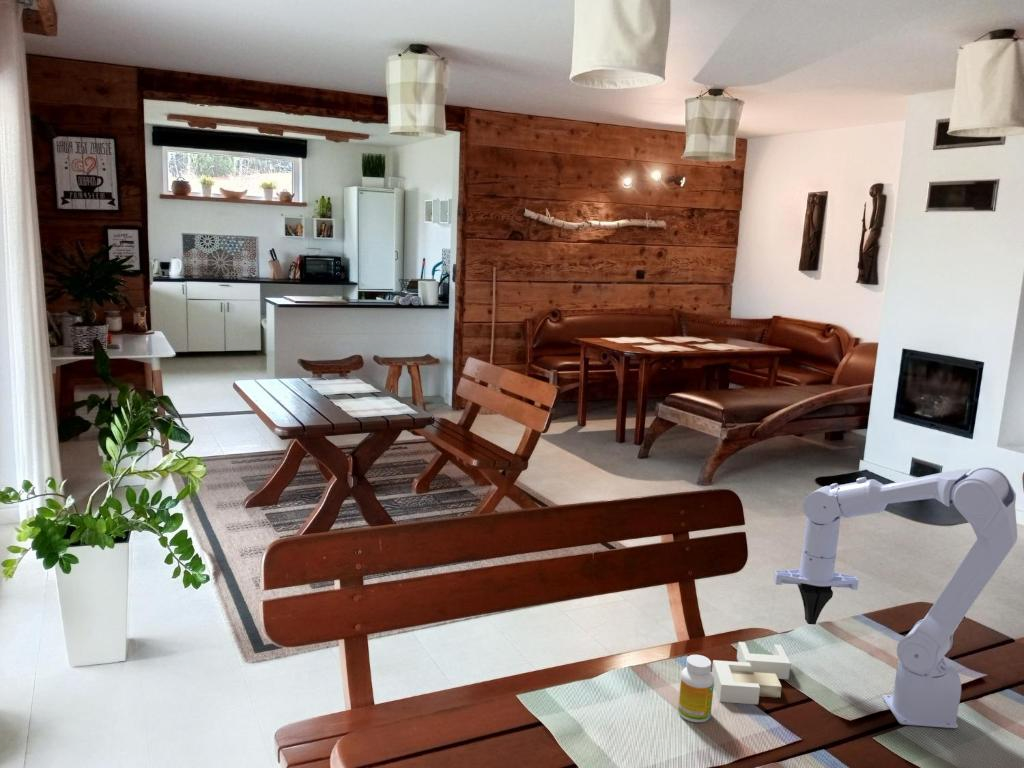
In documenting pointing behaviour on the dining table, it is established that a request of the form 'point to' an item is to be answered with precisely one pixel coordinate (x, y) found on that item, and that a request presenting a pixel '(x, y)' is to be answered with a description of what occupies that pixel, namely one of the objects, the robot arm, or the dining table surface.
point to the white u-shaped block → (766, 661)
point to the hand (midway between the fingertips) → (810, 621)
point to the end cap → (734, 683)
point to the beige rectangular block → (760, 682)
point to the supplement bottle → (696, 689)
